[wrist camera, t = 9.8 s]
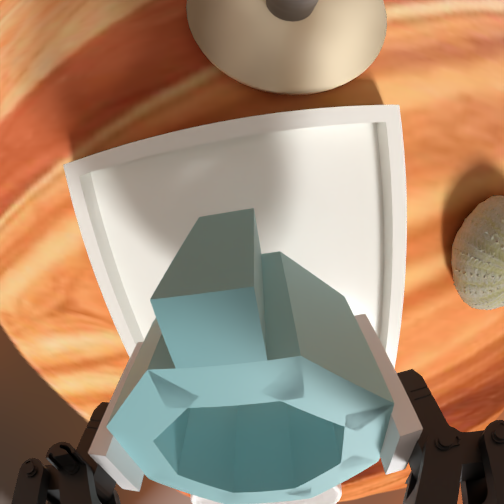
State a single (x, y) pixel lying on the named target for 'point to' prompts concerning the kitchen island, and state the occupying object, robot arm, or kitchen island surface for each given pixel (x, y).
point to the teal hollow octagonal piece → (250, 376)
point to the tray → (254, 205)
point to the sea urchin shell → (481, 256)
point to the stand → (289, 41)
